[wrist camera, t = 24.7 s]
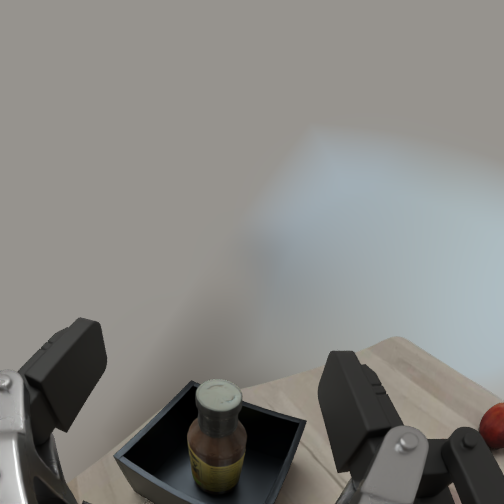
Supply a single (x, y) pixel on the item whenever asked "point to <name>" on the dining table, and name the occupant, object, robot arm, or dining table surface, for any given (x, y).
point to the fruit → (493, 426)
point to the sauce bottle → (217, 437)
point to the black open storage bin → (178, 461)
